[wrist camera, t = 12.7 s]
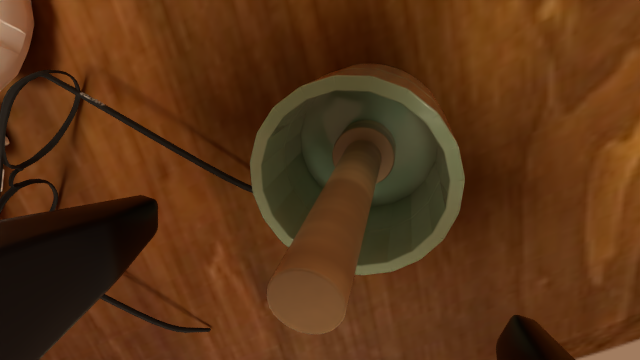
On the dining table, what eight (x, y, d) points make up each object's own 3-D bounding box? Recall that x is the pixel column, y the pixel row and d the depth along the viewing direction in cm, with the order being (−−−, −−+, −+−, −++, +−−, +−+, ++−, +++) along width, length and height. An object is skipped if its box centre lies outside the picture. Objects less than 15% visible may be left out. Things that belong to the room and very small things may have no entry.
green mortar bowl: (460, 195, 18) (481, 262, 13) (320, 220, 21) (289, 284, 15) (428, 40, 16) (437, 41, 10) (275, 90, 18) (219, 112, 13)
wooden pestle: (401, 168, 18) (390, 353, 7) (347, 180, 19) (268, 357, 8) (387, 112, 17) (351, 233, 6) (331, 128, 18) (220, 254, 7)
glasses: (83, 58, 20) (1, 71, 16) (300, 185, 22) (282, 229, 17) (48, 225, 26) (-18, 268, 22) (218, 313, 28) (189, 369, 24)
